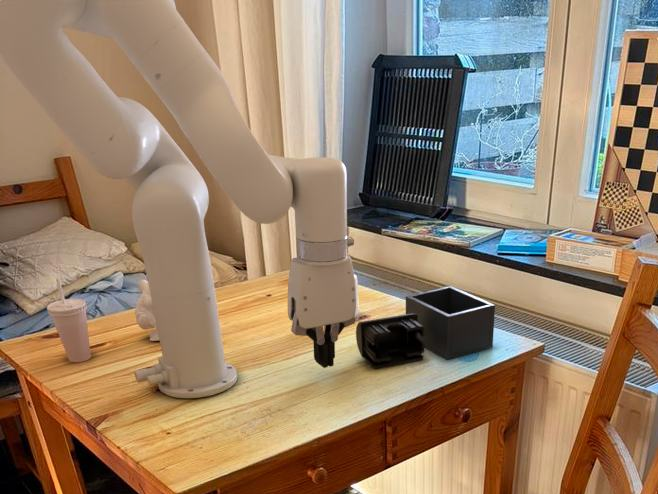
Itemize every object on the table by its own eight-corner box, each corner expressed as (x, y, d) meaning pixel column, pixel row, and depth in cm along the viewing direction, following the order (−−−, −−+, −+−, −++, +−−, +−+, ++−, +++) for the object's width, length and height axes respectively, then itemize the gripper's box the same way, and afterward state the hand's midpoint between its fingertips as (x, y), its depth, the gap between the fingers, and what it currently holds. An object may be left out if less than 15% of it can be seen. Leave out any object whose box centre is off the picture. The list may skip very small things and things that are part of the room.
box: (446, 360, 125) (448, 316, 121) (405, 337, 134) (405, 296, 130) (492, 347, 129) (495, 304, 124) (449, 326, 138) (450, 285, 134)
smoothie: (81, 348, 135) (62, 271, 128) (106, 354, 132) (88, 276, 125) (53, 361, 131) (31, 282, 123) (78, 368, 128) (57, 287, 120)
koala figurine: (188, 339, 137) (177, 274, 131) (154, 349, 134) (141, 282, 127) (167, 327, 143) (156, 264, 137) (134, 336, 140) (121, 272, 133)
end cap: (410, 345, 131) (410, 308, 127) (427, 360, 125) (427, 321, 121) (356, 355, 128) (354, 317, 124) (370, 370, 122) (369, 331, 119)
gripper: (352, 236, 117) (353, 347, 127) (265, 249, 111) (272, 365, 120) (377, 248, 112) (376, 363, 121) (287, 262, 105) (293, 382, 115)
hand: (324, 363), depth 121 cm, fingers closed
